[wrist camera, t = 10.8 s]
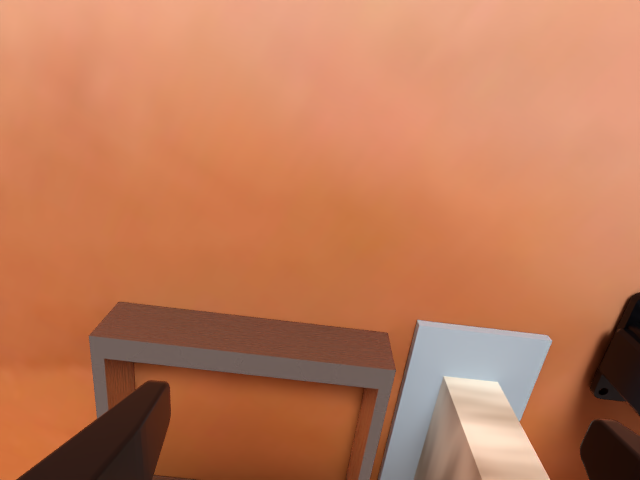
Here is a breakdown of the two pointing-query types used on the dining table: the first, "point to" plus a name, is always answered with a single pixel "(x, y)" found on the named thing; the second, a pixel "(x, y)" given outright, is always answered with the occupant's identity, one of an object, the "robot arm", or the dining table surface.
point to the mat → (462, 362)
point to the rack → (246, 359)
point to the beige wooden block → (476, 436)
